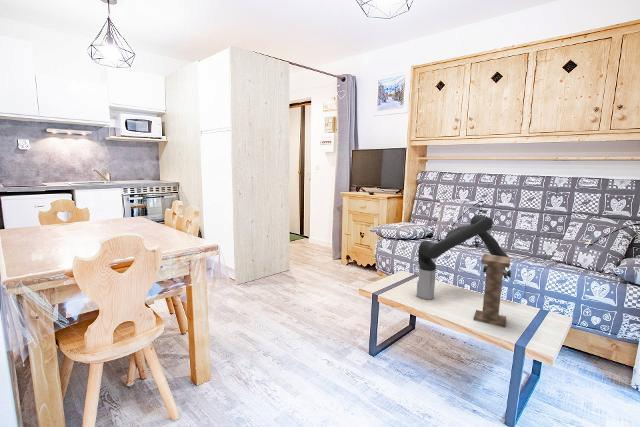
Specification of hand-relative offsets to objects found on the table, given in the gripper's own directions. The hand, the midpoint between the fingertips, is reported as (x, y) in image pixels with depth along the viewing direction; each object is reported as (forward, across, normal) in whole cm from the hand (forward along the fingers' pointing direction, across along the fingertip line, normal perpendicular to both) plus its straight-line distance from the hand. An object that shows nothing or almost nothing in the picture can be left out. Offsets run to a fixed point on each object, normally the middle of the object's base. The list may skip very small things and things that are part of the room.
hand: (495, 275), depth 186 cm
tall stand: (+27, +1, +15) cm, 31 cm away
